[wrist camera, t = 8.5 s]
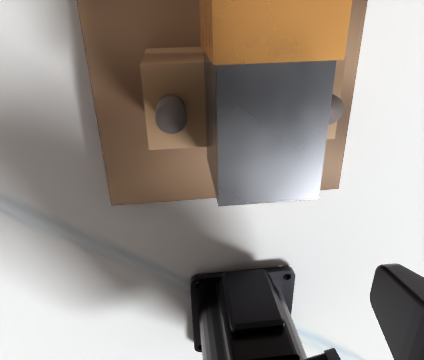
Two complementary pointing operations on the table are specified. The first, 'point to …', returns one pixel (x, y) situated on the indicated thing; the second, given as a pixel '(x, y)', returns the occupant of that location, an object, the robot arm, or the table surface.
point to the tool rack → (174, 98)
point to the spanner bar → (269, 94)
